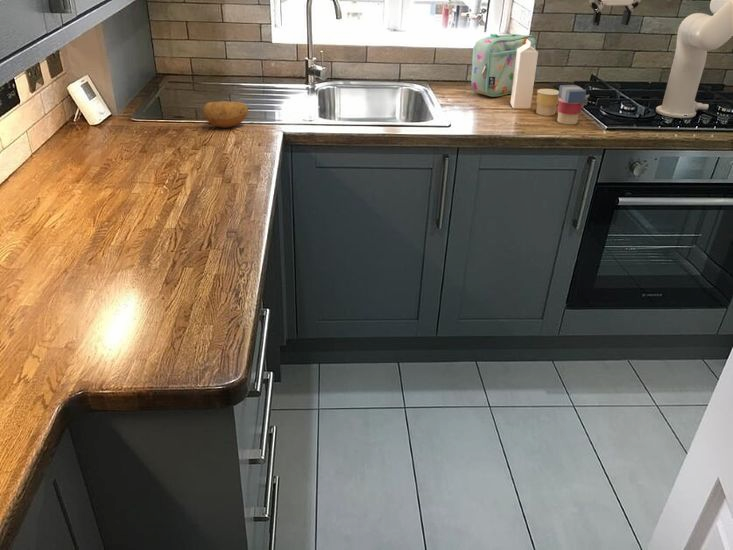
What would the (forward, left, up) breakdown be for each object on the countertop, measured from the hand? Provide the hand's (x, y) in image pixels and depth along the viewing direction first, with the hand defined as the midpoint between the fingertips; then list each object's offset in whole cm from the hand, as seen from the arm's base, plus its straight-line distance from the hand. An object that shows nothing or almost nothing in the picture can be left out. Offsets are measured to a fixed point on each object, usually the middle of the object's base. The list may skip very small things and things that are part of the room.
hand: (610, 24), depth 194 cm
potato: (+118, +33, -28) cm, 126 cm away
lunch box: (+30, -23, -28) cm, 47 cm away
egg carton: (+6, -10, -28) cm, 31 cm away
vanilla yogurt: (+16, +2, -28) cm, 33 cm away
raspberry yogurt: (+10, +11, -28) cm, 32 cm away
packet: (+10, +11, -21) cm, 26 cm away
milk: (+24, -5, -28) cm, 38 cm away
